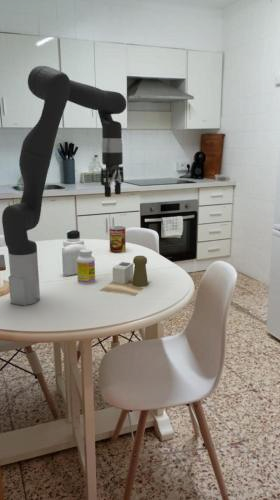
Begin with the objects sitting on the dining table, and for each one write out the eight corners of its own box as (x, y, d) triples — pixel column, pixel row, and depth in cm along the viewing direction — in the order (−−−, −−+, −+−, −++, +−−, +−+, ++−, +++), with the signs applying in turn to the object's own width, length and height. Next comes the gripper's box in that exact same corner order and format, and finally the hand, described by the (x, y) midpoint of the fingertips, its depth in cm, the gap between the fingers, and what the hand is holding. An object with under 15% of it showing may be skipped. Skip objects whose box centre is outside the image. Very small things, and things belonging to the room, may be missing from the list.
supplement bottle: (90, 286, 154) (89, 253, 151) (74, 284, 156) (73, 251, 153) (98, 280, 160) (97, 249, 157) (83, 278, 162) (81, 247, 159)
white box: (124, 284, 154) (124, 268, 153) (112, 282, 156) (112, 266, 155) (133, 278, 161) (133, 262, 160) (121, 276, 163) (121, 261, 162)
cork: (142, 288, 150) (142, 259, 148) (129, 285, 153) (128, 256, 151) (151, 283, 155) (151, 255, 153) (137, 280, 158) (137, 253, 156)
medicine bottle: (84, 254, 197) (83, 230, 194) (74, 258, 191) (73, 233, 188) (73, 252, 201) (72, 228, 198) (63, 255, 195) (62, 231, 192)
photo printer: (84, 270, 174) (83, 241, 170) (88, 272, 170) (87, 243, 167) (61, 274, 168) (59, 245, 165) (65, 277, 165) (64, 247, 161)
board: (134, 297, 143) (134, 295, 143) (99, 292, 148) (99, 290, 148) (152, 282, 158) (152, 281, 158) (119, 278, 163) (119, 276, 163)
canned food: (107, 252, 201) (106, 228, 198) (113, 248, 208) (112, 225, 205) (122, 253, 199) (122, 229, 196) (127, 249, 206) (127, 226, 203)
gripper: (112, 151, 142) (113, 198, 146) (129, 151, 155) (129, 193, 159) (93, 151, 145) (95, 197, 149) (111, 150, 158) (112, 193, 162)
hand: (112, 195), depth 154 cm, fingers open, 8 cm apart
